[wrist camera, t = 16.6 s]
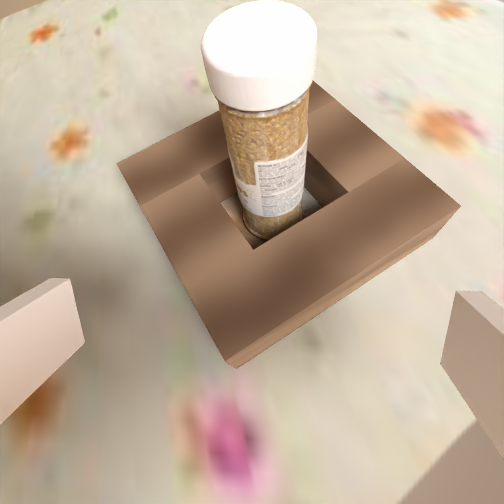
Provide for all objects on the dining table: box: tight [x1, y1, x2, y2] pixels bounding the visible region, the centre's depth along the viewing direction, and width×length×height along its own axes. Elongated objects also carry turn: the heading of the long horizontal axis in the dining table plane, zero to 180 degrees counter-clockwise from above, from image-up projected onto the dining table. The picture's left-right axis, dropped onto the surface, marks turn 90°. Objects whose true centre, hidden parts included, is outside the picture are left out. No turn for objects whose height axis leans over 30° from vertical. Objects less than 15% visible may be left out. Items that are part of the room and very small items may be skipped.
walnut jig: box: [117, 80, 461, 369], centre depth 22 cm, size 16×16×4 cm
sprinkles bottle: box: [201, 0, 317, 240], centre depth 18 cm, size 5×5×13 cm
